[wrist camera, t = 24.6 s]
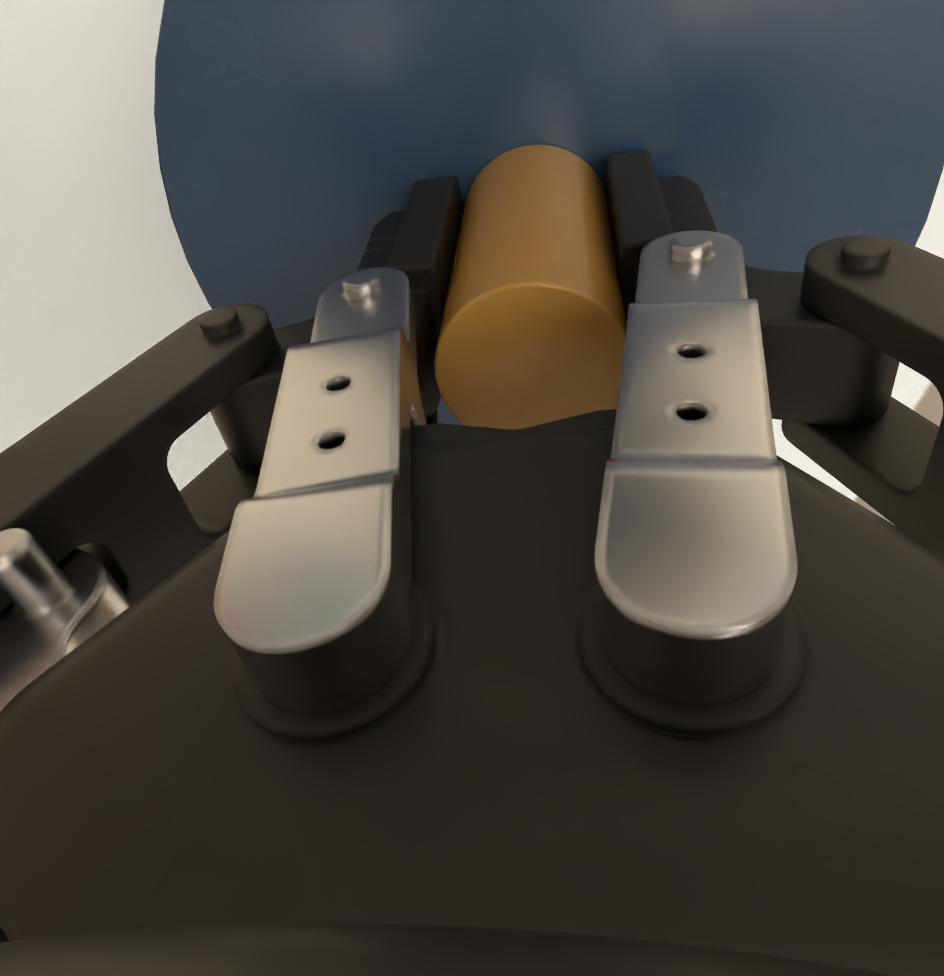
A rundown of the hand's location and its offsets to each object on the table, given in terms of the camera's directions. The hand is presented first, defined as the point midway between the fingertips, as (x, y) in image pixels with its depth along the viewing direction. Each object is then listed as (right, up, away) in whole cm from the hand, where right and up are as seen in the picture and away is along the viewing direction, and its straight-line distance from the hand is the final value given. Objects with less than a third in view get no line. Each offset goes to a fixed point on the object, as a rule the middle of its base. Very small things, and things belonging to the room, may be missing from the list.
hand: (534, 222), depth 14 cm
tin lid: (0, 0, +1) cm, 1 cm away
